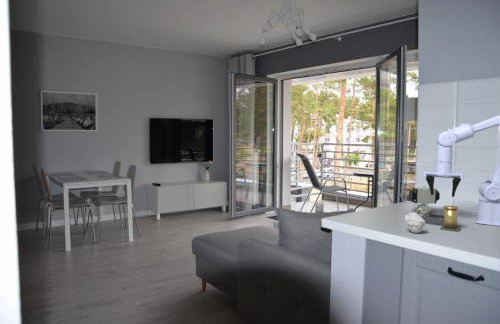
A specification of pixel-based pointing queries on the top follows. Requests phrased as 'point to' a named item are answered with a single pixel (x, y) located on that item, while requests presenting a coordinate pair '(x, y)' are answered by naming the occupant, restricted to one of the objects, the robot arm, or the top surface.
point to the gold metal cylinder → (450, 216)
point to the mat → (451, 229)
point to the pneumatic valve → (423, 198)
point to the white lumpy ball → (414, 222)
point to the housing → (433, 218)
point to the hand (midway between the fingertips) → (442, 195)
